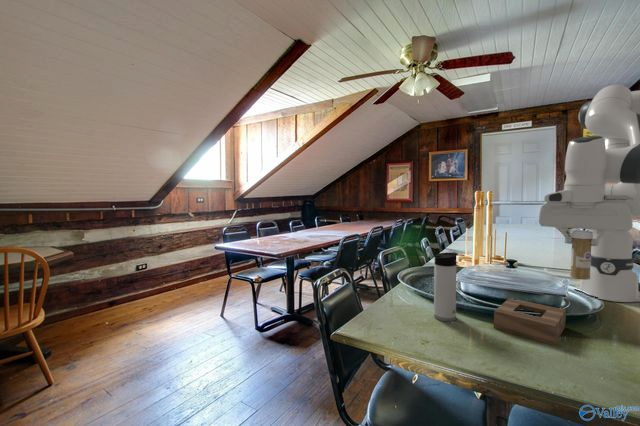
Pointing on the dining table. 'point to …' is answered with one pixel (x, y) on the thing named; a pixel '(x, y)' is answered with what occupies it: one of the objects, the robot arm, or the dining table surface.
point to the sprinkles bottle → (581, 254)
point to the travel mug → (445, 286)
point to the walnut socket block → (530, 320)
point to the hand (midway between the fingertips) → (581, 244)
